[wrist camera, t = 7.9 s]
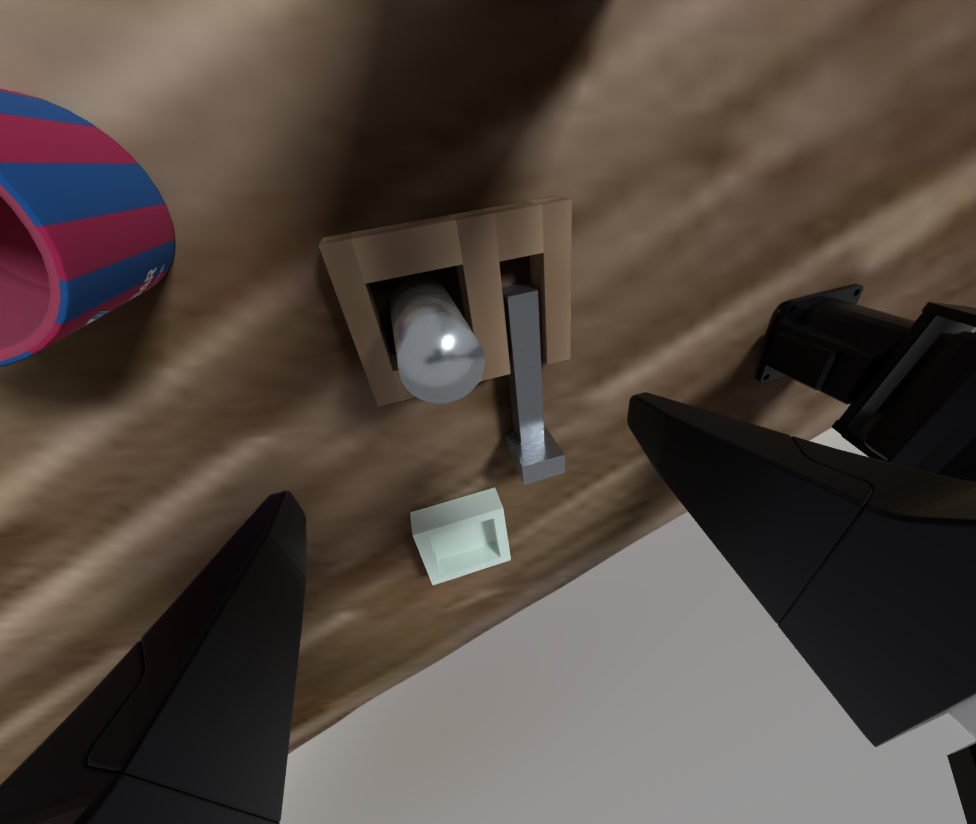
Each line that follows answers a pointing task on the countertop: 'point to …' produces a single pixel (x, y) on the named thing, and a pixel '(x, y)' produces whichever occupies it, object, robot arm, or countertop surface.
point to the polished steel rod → (433, 342)
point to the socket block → (476, 254)
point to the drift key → (527, 389)
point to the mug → (70, 225)
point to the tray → (461, 535)
